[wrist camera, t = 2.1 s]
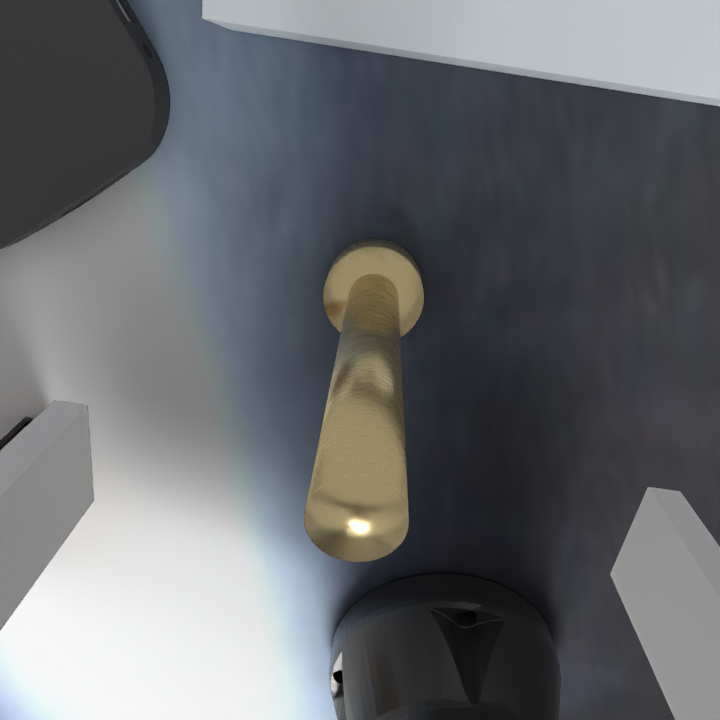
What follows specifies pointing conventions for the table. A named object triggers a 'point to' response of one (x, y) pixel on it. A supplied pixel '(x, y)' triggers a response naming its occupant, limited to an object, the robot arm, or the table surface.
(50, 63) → the media streaming box
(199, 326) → the table surface
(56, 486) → the robot arm
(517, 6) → the keyhole plate
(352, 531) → the brass peg
